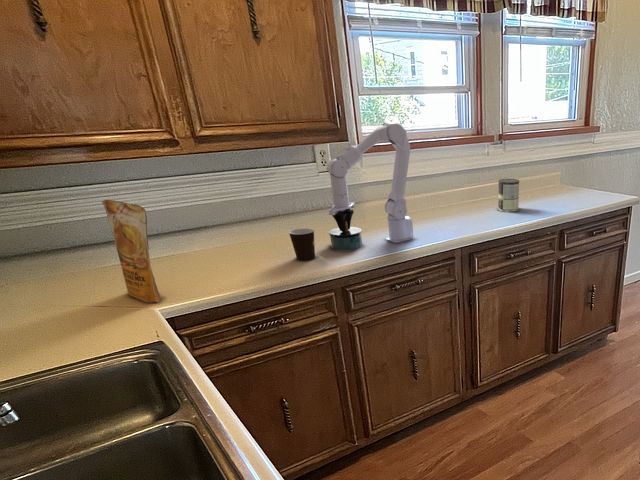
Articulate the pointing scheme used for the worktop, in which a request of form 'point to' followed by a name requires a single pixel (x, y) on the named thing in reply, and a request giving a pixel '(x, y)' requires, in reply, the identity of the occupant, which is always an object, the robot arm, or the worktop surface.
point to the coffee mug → (303, 243)
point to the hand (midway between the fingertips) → (345, 230)
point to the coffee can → (508, 195)
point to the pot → (346, 242)
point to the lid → (346, 233)
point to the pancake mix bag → (133, 248)
